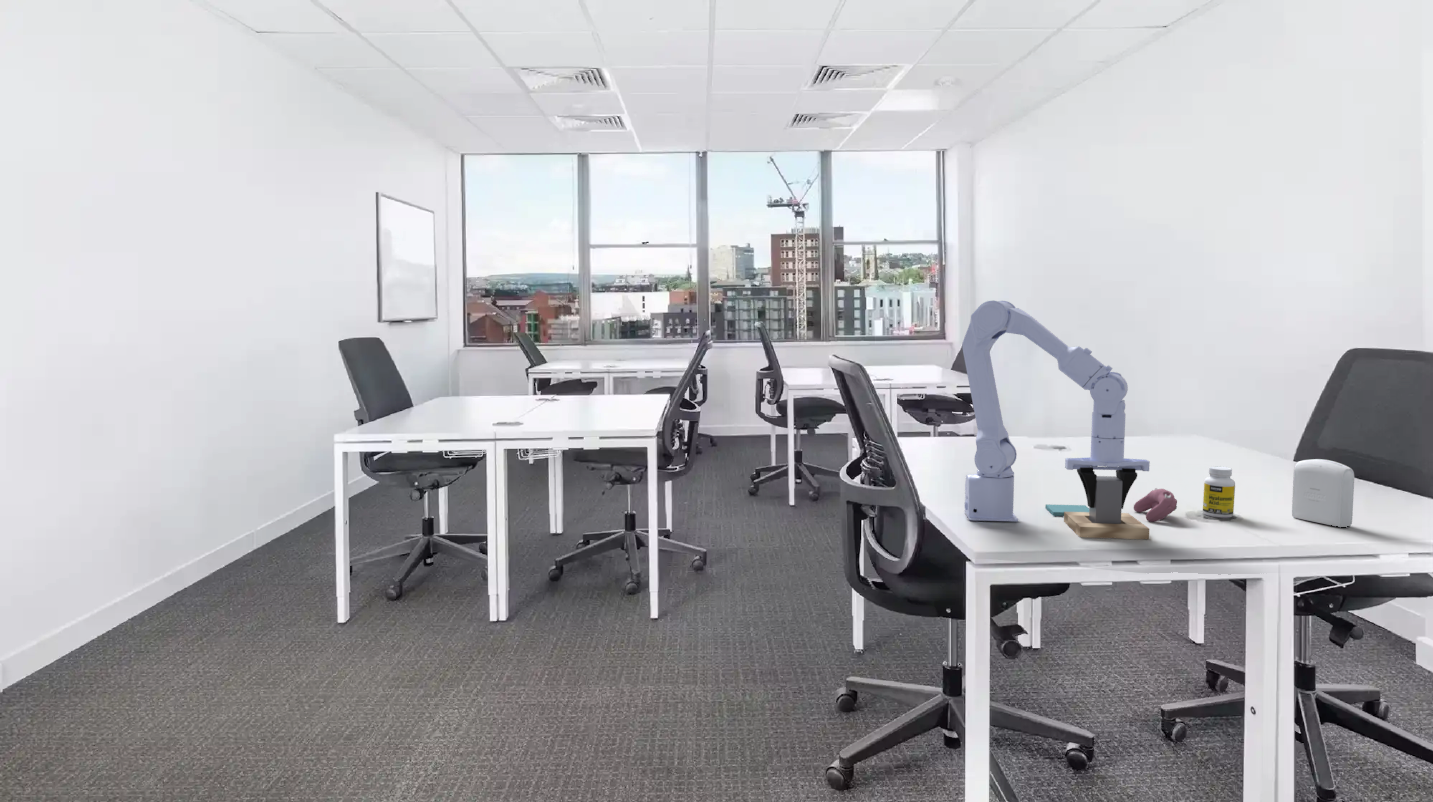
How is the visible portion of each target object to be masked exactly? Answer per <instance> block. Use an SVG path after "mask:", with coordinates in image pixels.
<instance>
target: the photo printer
mask: <svg viewBox="0 0 1433 802" xmlns="http://www.w3.org/2000/svg"><path fill="white" fill-rule="evenodd" d="M1292 477H1293V480H1292V498H1291V502H1292V504H1291V516H1292V517H1293V518H1294V519H1298V520H1303V521H1308V522H1313V523H1318V524H1324V525H1327V526H1331V525H1332V526H1333V527H1336V526H1338V527H1337V528H1341V527H1346V528H1348V527H1347V526H1350V527H1351V525H1352V524H1353V516H1354V515H1353V514H1354V513H1353V510H1354V495H1355V494H1354V491H1355V472H1354V470H1353V469H1352V467H1349V466H1347V465H1346V464H1343V463H1340V462H1337V461H1333V460H1329V459H1321V458H1315V459H1314V458H1313V459H1303V460H1300V461H1297V462H1296V463H1295V465H1294V469H1293V476H1292Z"/></svg>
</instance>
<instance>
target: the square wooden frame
mask: <svg viewBox="0 0 1433 802" xmlns="http://www.w3.org/2000/svg"><path fill="white" fill-rule="evenodd" d="M1063 523H1065V525H1067V527H1069V528H1070V529H1071V530H1072V531H1073V532H1074V533H1075V534H1076V535H1077V536H1078V537H1079V538H1091V539H1092V538H1093V539H1125V540H1150V528H1149V527H1148V526H1146V525H1145V524H1144V523H1142V522H1141V521H1139V520H1138V519H1137V518H1136V517H1135V516H1133V515H1131V514H1130V513H1129V512H1121V524H1103V523H1092V522H1091V521H1090V520H1089V512H1064V516H1063Z"/></svg>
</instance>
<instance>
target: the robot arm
mask: <svg viewBox="0 0 1433 802" xmlns="http://www.w3.org/2000/svg"><path fill="white" fill-rule="evenodd" d="M1006 333H1007V334H1012V335H1020V336H1024V337H1025V338H1026V339H1028V340H1029V341H1031V342H1032V343H1033V344H1035V345H1037V346H1038V347H1039V348H1041V349H1042V350H1044V352H1046V353H1047V354H1049V355H1050V356H1052V357H1054V359H1056V360H1057V367H1058V370H1059V371H1060V372H1061V373H1063V374H1064V375H1066V376H1067V377H1068V378H1069V379H1070V380H1072V381H1073V382H1074V383H1076V384H1077V385H1078V386H1079V387H1081V388H1082V389H1084V390H1085V391H1086V390H1087V391H1089V392H1090V397H1091V398H1092V400H1093V409H1092V410H1093V411H1092V413H1091V436H1090V439H1091V440H1090V457H1074V458H1073V457H1066V458H1064V459H1065V462H1064V464H1065V465H1064V466H1065V467H1064V468H1065V469H1066V470H1068V471H1073V470H1076V471H1077V472H1076V473H1077V474H1078V477H1079V479H1080V480H1081V483H1082V486H1083V489H1084V493H1085V496H1086V500H1087V501H1086V502H1087V507H1088V508H1089V507H1090V508H1094V505H1095V484H1096V478H1097V476H1098V475H1097V474H1096V473H1095V470H1099V471H1100V470H1101V471H1105V470H1106V471H1109V470H1110V471H1115V475H1116V476H1115V477H1117V478H1118V479H1120V480H1122V481H1123V482H1122V508H1121V510H1123V509H1124V505H1125V502H1126V499H1127V496H1128V493H1129V491H1130V490H1131V489H1132V488H1131V487H1132V486H1133V484H1134V482H1135V481H1136V480H1137V479H1138V472H1136V471H1142V472H1150V464H1151V463H1150V461H1149V460H1148V459H1143V458H1142V459H1137V458H1125V456H1124V455H1125V435H1126V411H1125V410H1126V402H1125V400H1124V398H1125V397H1126V395H1127V393H1128V390H1129V388H1128V387H1129V386H1128V383H1127V381H1126V379H1125V378H1124V377H1123V376H1122V374H1121V373H1119V372H1117V371H1116V372H1115V371H1113V367H1112V366H1111V365H1109V364H1108V365H1104V363H1102V362H1101V361H1100V360H1098V359H1097V358H1096V357H1094V356H1093V355H1092V352H1093V351H1092V350H1091V349H1089V348H1088V347H1085V348H1082V347H1081V346H1080V345H1079V346H1077V345H1076V346H1068V345H1067V344H1066V343H1065V342H1064V341H1062V340H1061V339H1060V338H1059V337H1058V336H1057V335H1055V334H1053V332H1051V331H1050V330H1049V329H1048V328H1046V327H1045V326H1044V325H1043V324H1042V323H1040V321H1038V320H1037V319H1036V318H1034V317H1033V316H1032V315H1030V314H1029V313H1027V312H1026V311H1025V310H1023V309H1021V308H1019V307H1016V306H1015V305H1014V304H1013V303H1012V302H1010V301H1006V300H999V301H997V300H987V301H985V302H982V303H981V304H980V305H979V306H978V307H977V308H976V309H975V310H974V311H973V313H972V314H971V315H970V321H969V324H968V328H967V330H966V333H965V335H964V338H963V340H962V345H961V347H962V352H963V359H964V364H965V369H966V373H967V380H968V385H969V390H970V396H971V400H972V406H973V412H974V417H975V420H976V427H977V432H976V439H975V445H976V451H975V453H974V454H975V455H974V465H975V467H976V468H977V470H976V473H973V474H971V473H969V474H966V475H965V484H964V487H965V489H964V491H965V492H964V494H965V495H964V511H963V512H964V513H965V515H966V517H967V519H968V520H969V521H978V522H979V521H981V522H983V521H984V522H987V521H988V522H1019V518H1018V517H1017V516H1016V515H1015V513H1014V498H1015V497H1014V495H1015V493H1014V491H1015V488H1014V487H1015V472H1014V471H1013V469H1012V466H1013V465H1014V464H1015V462H1016V460H1017V456H1018V455H1017V450H1016V447H1015V446H1014V444H1013V443H1012V442H1011V439H1010V437H1009V433H1008V430H1007V428H1005V426H1004V422H1003V417H1002V411H1001V406H1000V400H999V395H998V389H997V384H996V380H995V374H994V369H993V363H992V359H991V352H990V350H991V348H992V347H993V346H994V344H995V343H996V341H998V339H999V338H1000V337H1002V336H1004V334H1006Z"/></svg>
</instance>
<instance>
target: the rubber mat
mask: <svg viewBox="0 0 1433 802" xmlns="http://www.w3.org/2000/svg"><path fill="white" fill-rule="evenodd" d="M1044 506H1045V509H1046V510H1047V511H1048V513H1050V514H1051V516H1053V517H1064V512H1089V506H1088V505H1085V504H1083V505H1082V504H1045V505H1044Z"/></svg>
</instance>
